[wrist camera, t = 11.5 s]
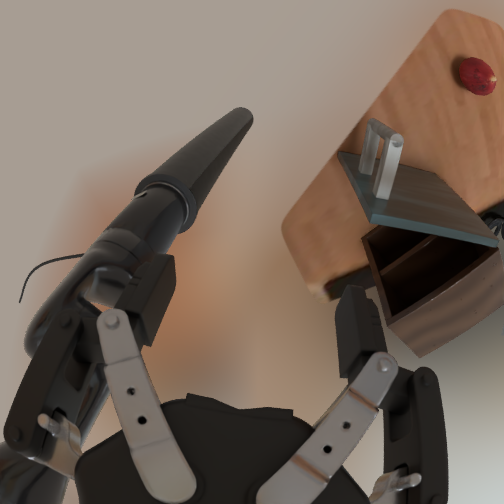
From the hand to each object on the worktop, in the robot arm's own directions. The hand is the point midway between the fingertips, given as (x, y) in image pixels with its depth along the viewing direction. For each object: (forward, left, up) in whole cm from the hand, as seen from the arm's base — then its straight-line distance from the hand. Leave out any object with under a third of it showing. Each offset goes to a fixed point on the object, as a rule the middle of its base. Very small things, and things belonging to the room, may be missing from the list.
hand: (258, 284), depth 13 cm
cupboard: (+6, -28, -30) cm, 41 cm away
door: (+12, -12, -30) cm, 35 cm away
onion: (+30, -11, -30) cm, 44 cm away
